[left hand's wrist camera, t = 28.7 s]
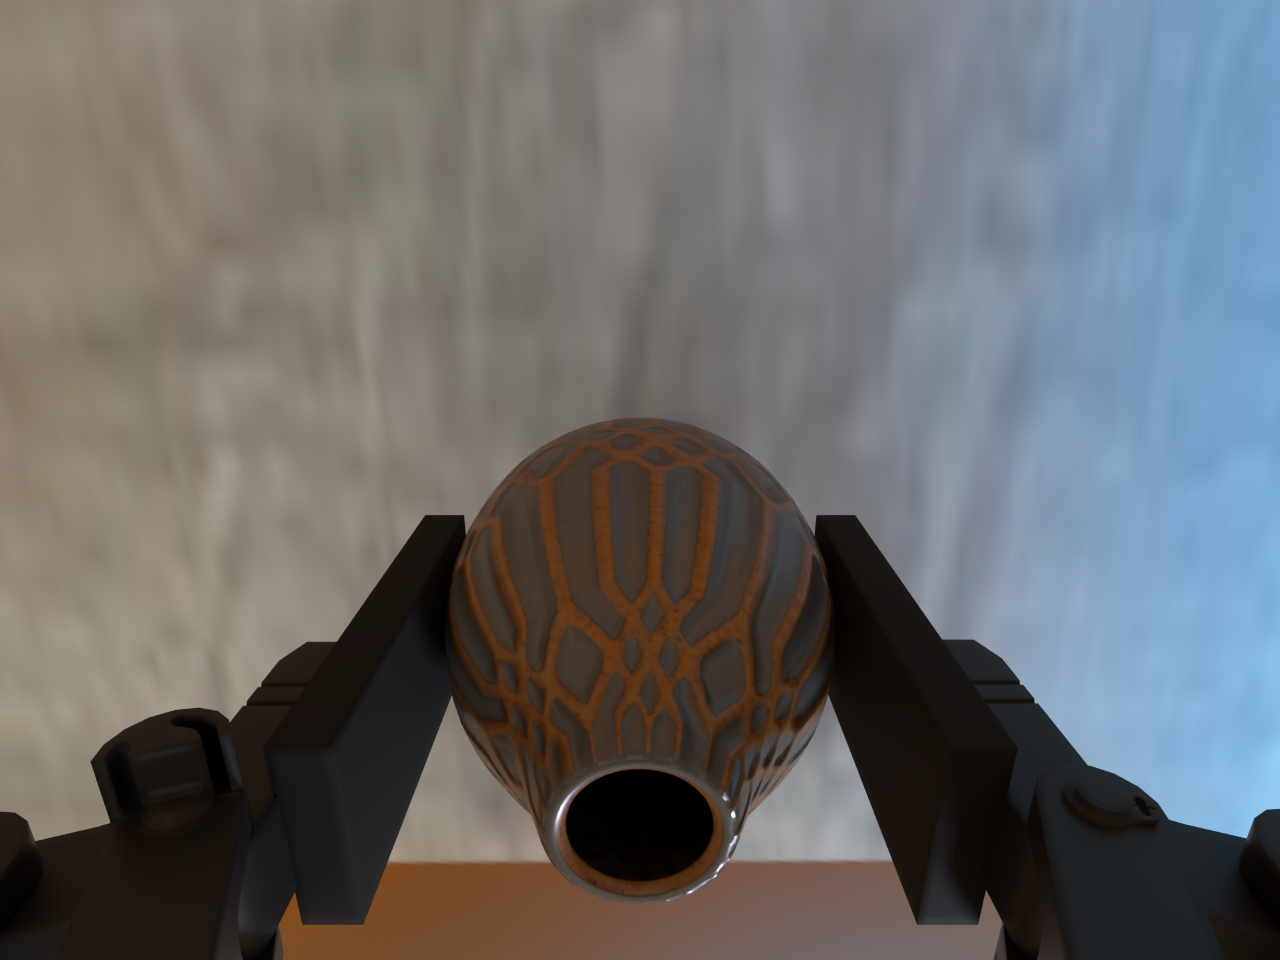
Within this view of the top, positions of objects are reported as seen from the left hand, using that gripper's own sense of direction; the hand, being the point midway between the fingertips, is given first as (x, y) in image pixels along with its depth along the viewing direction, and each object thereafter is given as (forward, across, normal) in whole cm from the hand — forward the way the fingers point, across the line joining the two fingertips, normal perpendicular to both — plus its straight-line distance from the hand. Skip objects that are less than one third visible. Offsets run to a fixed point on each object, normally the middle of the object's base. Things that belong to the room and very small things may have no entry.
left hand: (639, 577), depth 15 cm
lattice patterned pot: (+2, 0, 0) cm, 2 cm away
